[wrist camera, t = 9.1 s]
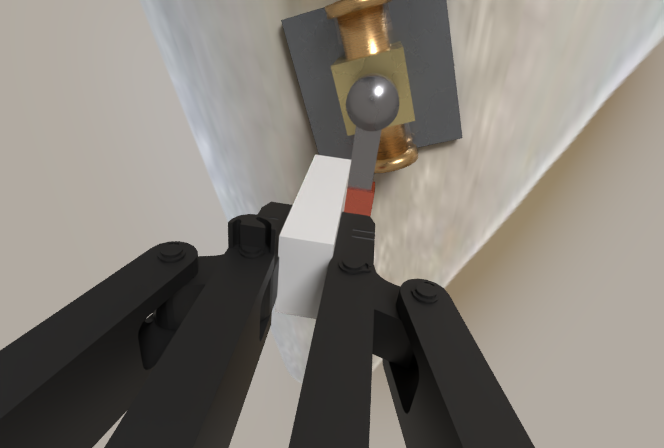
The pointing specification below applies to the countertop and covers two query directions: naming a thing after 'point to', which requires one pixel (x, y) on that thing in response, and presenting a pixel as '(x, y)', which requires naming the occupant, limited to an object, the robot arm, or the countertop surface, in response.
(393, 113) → the lever
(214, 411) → the robot arm
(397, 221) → the countertop surface
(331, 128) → the valve
